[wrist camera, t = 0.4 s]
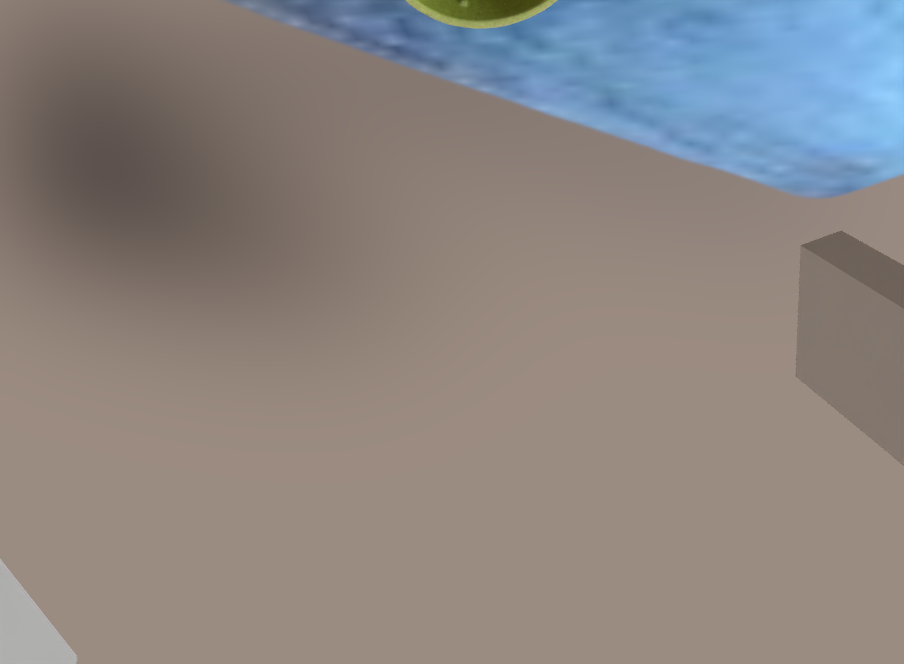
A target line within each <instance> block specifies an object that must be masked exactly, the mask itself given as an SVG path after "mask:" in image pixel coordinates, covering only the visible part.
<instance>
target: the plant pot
mask: <svg viewBox="0 0 904 664" xmlns="http://www.w3.org/2000/svg"><path fill="white" fill-rule="evenodd" d="M405 1H406V2H408V3H409V4H410V5H411V6H413V7H414V8H415V9H417V10H418V11H420V12H422V13H423V14H425V15H427V16H429V17H431V18H433V19H435V20H437V21H440V22H443V23H446V24H448V25H453V26H460V27H466V28H475V29H480V28H493V27H501V26H506V25H510V24H513V23H517V22H520V21H523V20H525V19H527V18H530V17H532V16H534V15H536V14H538V13H540V12H541V11H543V10H545V9H546V8H548V7H549V6H551V5H552V4H553V3H555V2H556V1H558V0H405Z"/></svg>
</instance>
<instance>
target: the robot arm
mask: <svg viewBox="0 0 904 664" xmlns="http://www.w3.org/2000/svg"><path fill="white" fill-rule="evenodd" d="M796 377H797V378H798V379H799V380H801V381H802V382H803V383H804V384H806V385H807V386H808V387H809V388H810V389H812V390H813V391H814V392H815V393H816V394H818V395H819V396H820V397H821V398H822V399H824V400H825V401H826V402H827V403H828V404H830V405H831V406H832V407H833V408H835V409H836V410H837V411H838V412H839V413H841V414H842V415H843V416H844V417H845V418H847V419H848V420H849V421H850V422H852V423H853V424H854V425H855V426H856V427H858V428H859V429H860V430H861V431H862V432H864V433H865V434H866V435H867V436H869V437H870V438H871V439H872V440H873V441H875V442H876V443H877V444H878V445H879V446H881V447H882V448H883V449H884V450H885V451H887V452H888V453H889V454H890V455H891V456H893V457H894V458H895V459H896V460H897V461H899V462H900V463H901V464H902V465H904V265H902V264H900V263H898V262H897V261H895V260H893V259H891V258H890V257H888V256H886V255H884V254H882V253H881V252H879V251H877V250H875V249H873V248H871V247H870V246H868V245H866V244H864V243H863V242H861V241H859V240H857V239H856V238H854V237H852V236H850V235H848V234H847V233H845V232H843V231H839V232H836V233H833V234H831V235H828V236H825V237H822V238H820V239H817V240H814V241H811V242H809V243H806V244H803V245H801V254H800V279H799V304H798V329H797V354H796ZM0 664H77V656H76V655H75V653H74V652H73V651H72V650H71V648H70V647H69V646H68V644H67V643H66V642H65V641H64V639H63V638H62V637H61V636H60V634H59V633H58V632H57V630H56V629H55V628H54V627H53V626H52V624H51V623H50V622H49V620H48V619H47V618H46V617H45V615H44V614H43V613H42V611H41V610H40V609H39V608H38V606H37V605H36V604H35V602H34V601H33V600H32V599H31V597H30V596H29V595H28V594H27V592H26V591H25V590H24V589H23V587H22V586H21V585H20V584H19V582H18V581H17V580H16V578H15V577H14V576H13V575H12V573H11V572H10V571H9V569H8V568H7V567H6V566H5V564H4V563H3V562H2V561H1V559H0Z"/></svg>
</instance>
